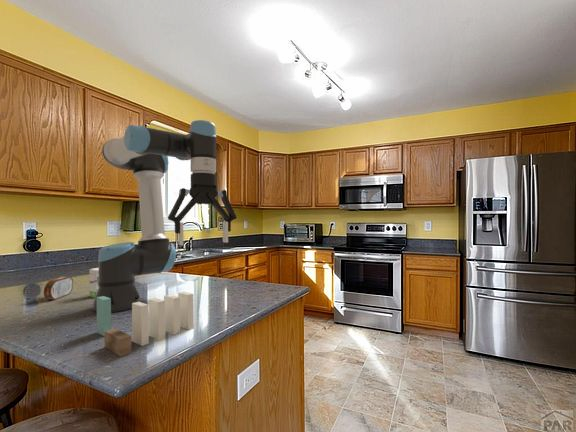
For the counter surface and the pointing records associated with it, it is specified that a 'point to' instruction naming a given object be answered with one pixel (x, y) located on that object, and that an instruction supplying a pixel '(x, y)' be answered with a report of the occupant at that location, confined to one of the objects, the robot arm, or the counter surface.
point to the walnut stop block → (118, 342)
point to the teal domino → (103, 314)
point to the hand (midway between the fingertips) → (204, 243)
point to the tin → (58, 287)
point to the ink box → (94, 281)
